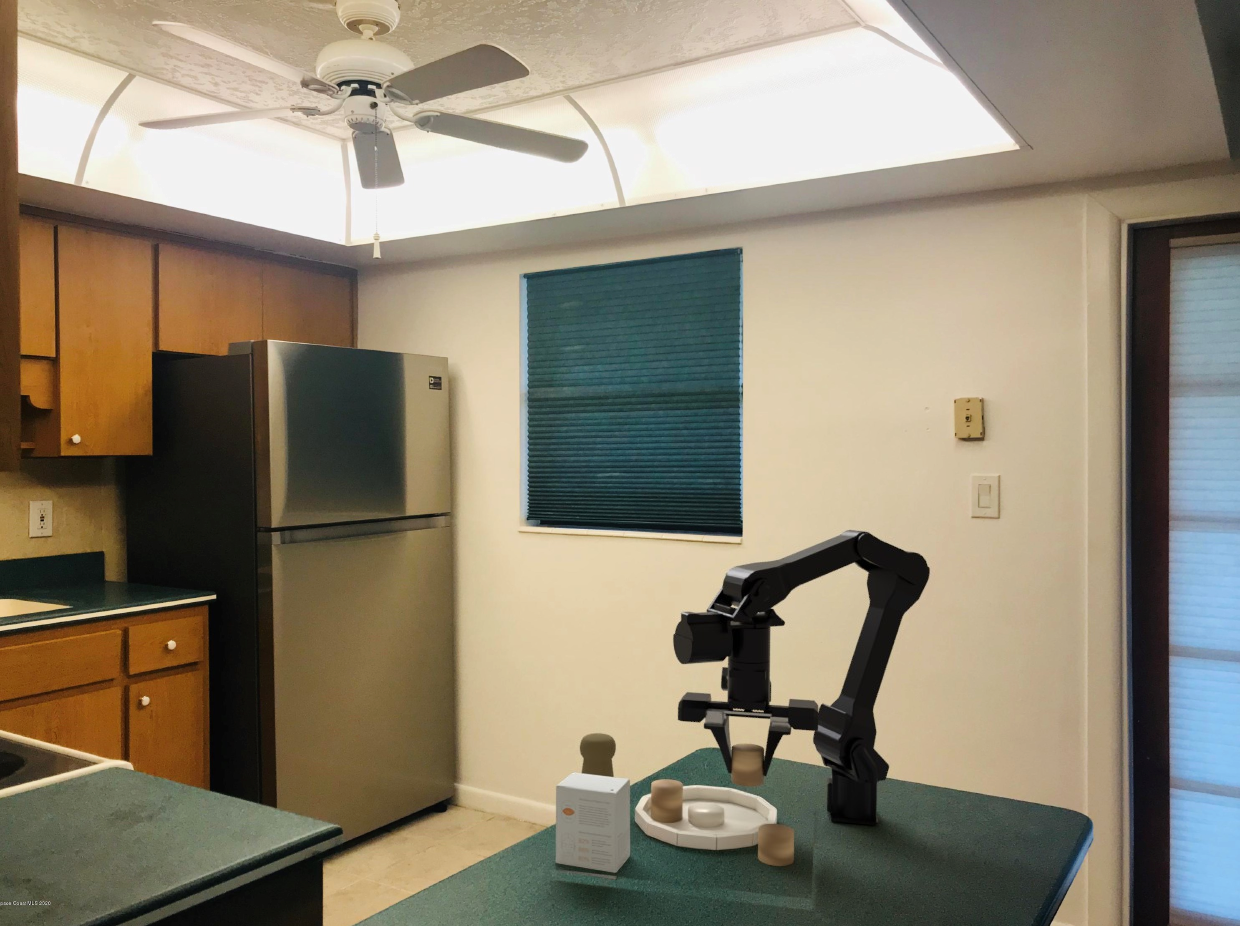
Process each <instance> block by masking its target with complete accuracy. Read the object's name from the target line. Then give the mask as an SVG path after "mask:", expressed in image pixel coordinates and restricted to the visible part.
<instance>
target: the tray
mask: <svg viewBox="0 0 1240 926" xmlns="http://www.w3.org/2000/svg"><path fill="white" fill-rule="evenodd" d="M634 821H635V823H636V824H637V826H639V828H640V829H641V830H642V831H643V832H644V834H645V835H647V836H648V837H652V838H655V839H657V840H660V841H661V842H665V843H667V844H669V845H670V844H671V845H673V846H677V847H683V848H691V849H700V850H712V851H719V850H730V849H732V850H733V849H740V848H741V849H742V848H747V847H753V846H756V845H758V829H759V827H760V826H762V825H765V824H778V823H777V822H778V810H777V808H776V807H775V806H773V804H770V803H769V802H768V801H767V800H765V799H764V798H763V797H761V796H759V795H755V794H752V793H749V792H746V791H742V790H739V789H736V788H731V787H722V786H710V785H696V784H694V785H683V816H682V820H680V821H678V822H674V823H662V822H657V821H655V820H653V819H652V818H651V792H650V793H648V794H645V795H643V796H641V798H640V800H639V801H638V803H637V805H636V807H635V808H634Z"/></svg>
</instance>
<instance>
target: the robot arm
mask: <svg viewBox="0 0 1240 926" xmlns="http://www.w3.org/2000/svg"><path fill="white" fill-rule="evenodd" d="M851 564H855V565H856V566H857V567H858V568H860V570H864V571H865V572H867V573H868V574H867V578H866V588H867V593H868V599H869V606H868V608H867V611H866V614H865V617H864V621H863V623H862V626H861V630H860V633H859V636H858V640H857V642H856V645H855V649H854V651H853V655H852V657H851V660H850V664H849V666H848V669H847V673H846V675H845V678H844V682H843V685H842V688H841V691H840V693H839V695H838V697H837V698H836V700H834V701H833V702H832V703H831V705H829V704H826V703H824V702H823V703H822V704H820V706H819V703H817V702H816V701H815V700H814V699H813V700H810V699H797V698H796V699H795V698H789V700H788V701H789V702H788V705H780V704H779V705H778V704H770V703H771V702H772V681H771V678H770V677H771V628H772V627H783V626H785V625H786V622H785V620H784V619H783V618H782V617H780V616H779V614H777V613H776V610H775V609H774V607H775V606H777V605H779V604H780V603H781V602H783V601H784V600H785V599H787V597H788V596H789V595H790V594H791V592H792V591H794V590H795V589H796V588H798V587H799V586H802V585H804V584H807V583H809V582H811V581H813V580H816V579H819V578H822V577H824V576H826V575H828V574H831V573H833V572H835V571H838V570H841V569H843V568H844V567H847V566H849V565H850V566H851ZM930 571H931V568H930V567H929V565H928V563H927V560H926V558H925V557H924V556H923V555H921V554H920V553H919V552H914V551H907V550H904V549H902V548H900V547H897V546H895V545H893V544H890V543H888V542H887V541H884V540H882V539H880V538H878V537H877V536H875V535H873V534H872V533H870V532H869V531H865V530H864V531H863V530H856V529H855V530H854V529H848V530H845V531H842V532H841V533H840V534H838V535H837V536H835V537H832V538H830V539H826V540H824V541H822V542H819V543H815V544H814V545H812V546H809V547H807V548H804V549H802V550H799V551H796V552H795V553H792V554H789V555H787V556H784V557H782V558H780V559H779V558H778V559H775V560H769V561H760V562H751V563H745V564H741V565H736V566H733V567H731V568H730V569H728V570H727V571H726V573H725V577H724V579H723V582H722V586H721V587H720V588H719V591H718V592H716V595H715V597H714V598H713V599H712V601H711V603H710V604H709V606H708V607H707V609H706V611H705V612H693V611H682V612H681V613H680V621H679V622H678V623H677V625H676V627H675V630H674V633H673V636H672V637H673V638H672V643H673V644H672V645H673V651H674V654H675V657H676V660H677V661H678V662H679V663H680V664H681V665H692V664H693V665H694V664H706V663H718V662H719V663H720V662H721V663H722V662H724V661H725V660H726V659H727V667H726V666H724V667H722V668H721V669H722V670H721V677H720V678H721V679H720V689H721V690H722V691H724V692H725V691H727V701H722V700H721V701H720V700H712V695H711V693H706V692H690V691H687V692H685V694H684V695H683V696H682V697H681V699H680V700H679V701H678V706H677V721H679V722H685V723H686V722H687V723H698V724H699V723H701V722H702V721H703V720H704V722H703V729H704V730H709V731H710V732H711V734H712V736H713V737H714V739H715V741H716V744H717V745H718V747H719V751H720V754H721V755H722V756H721V757H722V759H723V762H724V764H725V767H726V770H727V774H731V768H732V745H731V735H730V732H731V731H730V717H734V718H735V717H736V718H737V717H738V718H748V719H749V718H750V719H751V718H752V719H765V720H770V721H769V727H768V731H767V739H766V745H765V750H764V765H763V776H764V777H767V776H768V772H769V770H770V766H771V765H772V764H771V763H772V761H773V757H774V755H775V752H776V750H777V748H778V746H779V744H780V742H781V740H782V738H783V736H791V734H792V729H793V730H797V731H799V730H800V731H810V732H811V731H813V737H812V742H813V743H812V744H813V745H814V746H815V749H816V751H817V753H818V754H819V755H820V757H821V761H822V764H823V766H825V767H828V768H830V769H831V777H829V778H827V779H826V783H827V785H826V812H827V813H830V816H829V820H830V821H831V822H837V823H850V824H859V825H860V824H861V825H869V826H878V825H879V819H878V812H877V809H878V782H882V781H885V780H886V779H887V775H888V773H889V770H890V764H888V762H887V761H886V760H885V759H884V758H883V757H882V756H881V754H880V753H878V751H877V750H876V749H875V743H876V738H877V725H876V719H875V714H874V709H875V708H874V707H875V705H876V701H877V698H878V695H879V693H880V690H881V685H882V682H883V680H884V677H885V673H886V670H887V667H888V663H889V660H890V657H891V655H892V651H893V648H894V645H895V643H896V640H897V636H898V632H899V630H900V627H901V623H902V620H903V617H904V615H905V613H907V612H908V611H909V610H910V609H911V608H912V607H913V605H914V604H916V602H917V601H919V600H920V598H921V596H922V595H923V592H924V590H925V588H926V586H927V584H928V581H929V579H930V575H931V572H930ZM732 606H733V607H732Z"/></svg>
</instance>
